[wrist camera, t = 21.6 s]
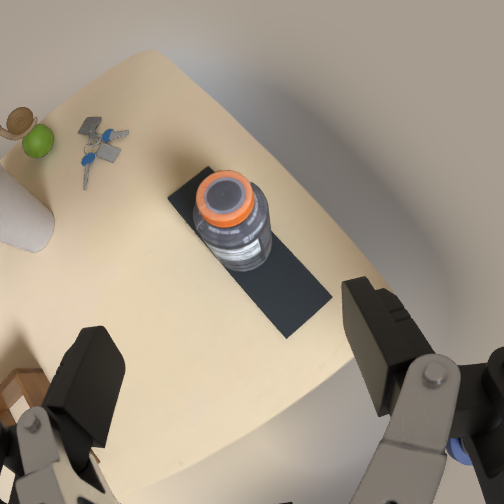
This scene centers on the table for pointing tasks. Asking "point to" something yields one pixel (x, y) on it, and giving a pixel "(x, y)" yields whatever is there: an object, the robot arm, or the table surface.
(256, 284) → the mat
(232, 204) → the pill bottle
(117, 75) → the table surface
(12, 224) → the coffee cup
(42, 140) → the snail figurine
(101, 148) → the key chain
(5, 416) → the wooden box frame
